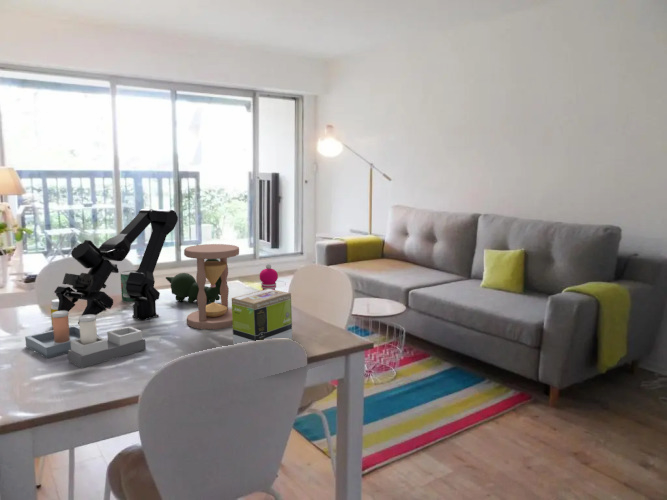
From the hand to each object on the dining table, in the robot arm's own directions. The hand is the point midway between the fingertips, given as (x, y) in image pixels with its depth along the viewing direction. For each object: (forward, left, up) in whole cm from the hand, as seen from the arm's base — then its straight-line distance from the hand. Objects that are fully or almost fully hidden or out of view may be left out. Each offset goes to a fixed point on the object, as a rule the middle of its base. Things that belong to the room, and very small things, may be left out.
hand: (68, 322), depth 147 cm
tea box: (-37, +42, -7) cm, 56 cm away
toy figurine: (-52, -11, -7) cm, 53 cm away
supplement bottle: (-6, -20, -7) cm, 22 cm away
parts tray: (+2, +1, -6) cm, 7 cm away
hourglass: (-41, +14, -7) cm, 44 cm away
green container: (-38, -32, -7) cm, 50 cm away
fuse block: (-3, +18, -6) cm, 19 cm away
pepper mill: (-52, +29, -7) cm, 60 cm away
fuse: (+2, +18, -3) cm, 18 cm away
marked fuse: (+2, +1, -6) cm, 6 cm away
